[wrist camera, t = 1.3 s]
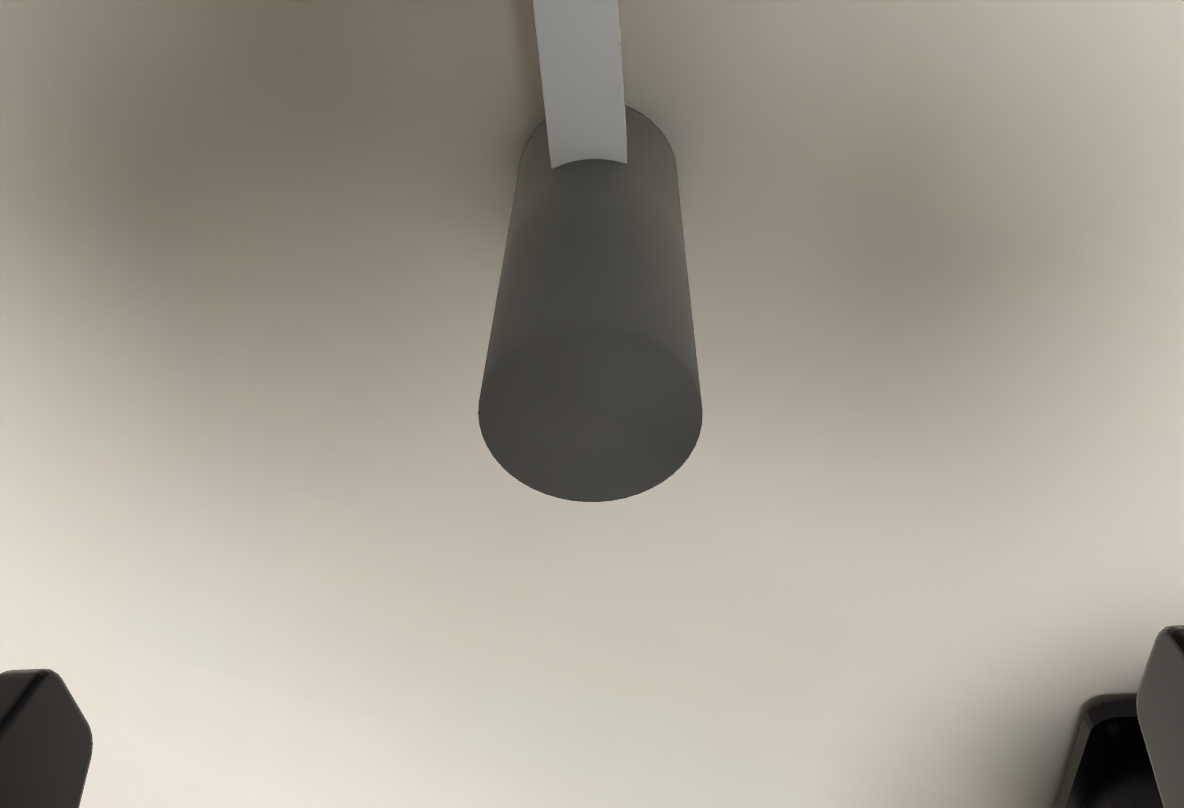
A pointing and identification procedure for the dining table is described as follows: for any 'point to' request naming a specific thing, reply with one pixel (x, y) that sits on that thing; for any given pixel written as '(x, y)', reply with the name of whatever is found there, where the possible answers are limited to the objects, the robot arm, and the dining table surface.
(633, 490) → the block
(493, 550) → the dining table surface
